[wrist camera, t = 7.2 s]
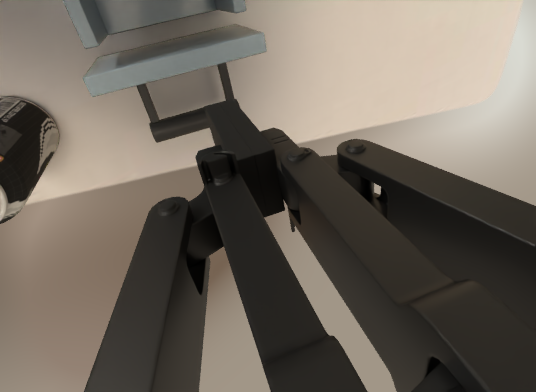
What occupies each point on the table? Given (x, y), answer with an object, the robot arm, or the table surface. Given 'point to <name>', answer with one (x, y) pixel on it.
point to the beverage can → (22, 152)
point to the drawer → (161, 51)
